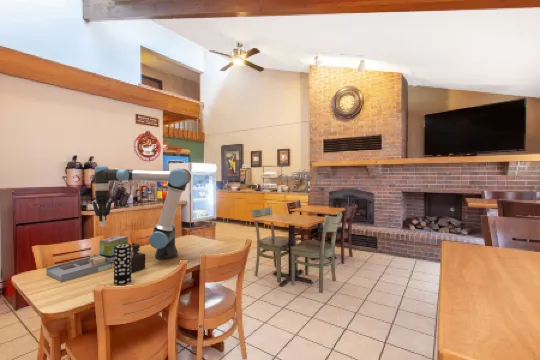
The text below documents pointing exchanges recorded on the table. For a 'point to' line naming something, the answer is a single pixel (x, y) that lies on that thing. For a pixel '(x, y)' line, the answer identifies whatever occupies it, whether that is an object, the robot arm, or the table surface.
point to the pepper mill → (137, 259)
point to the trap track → (76, 269)
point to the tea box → (111, 246)
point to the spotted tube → (122, 264)
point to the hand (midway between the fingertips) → (103, 226)
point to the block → (97, 260)
